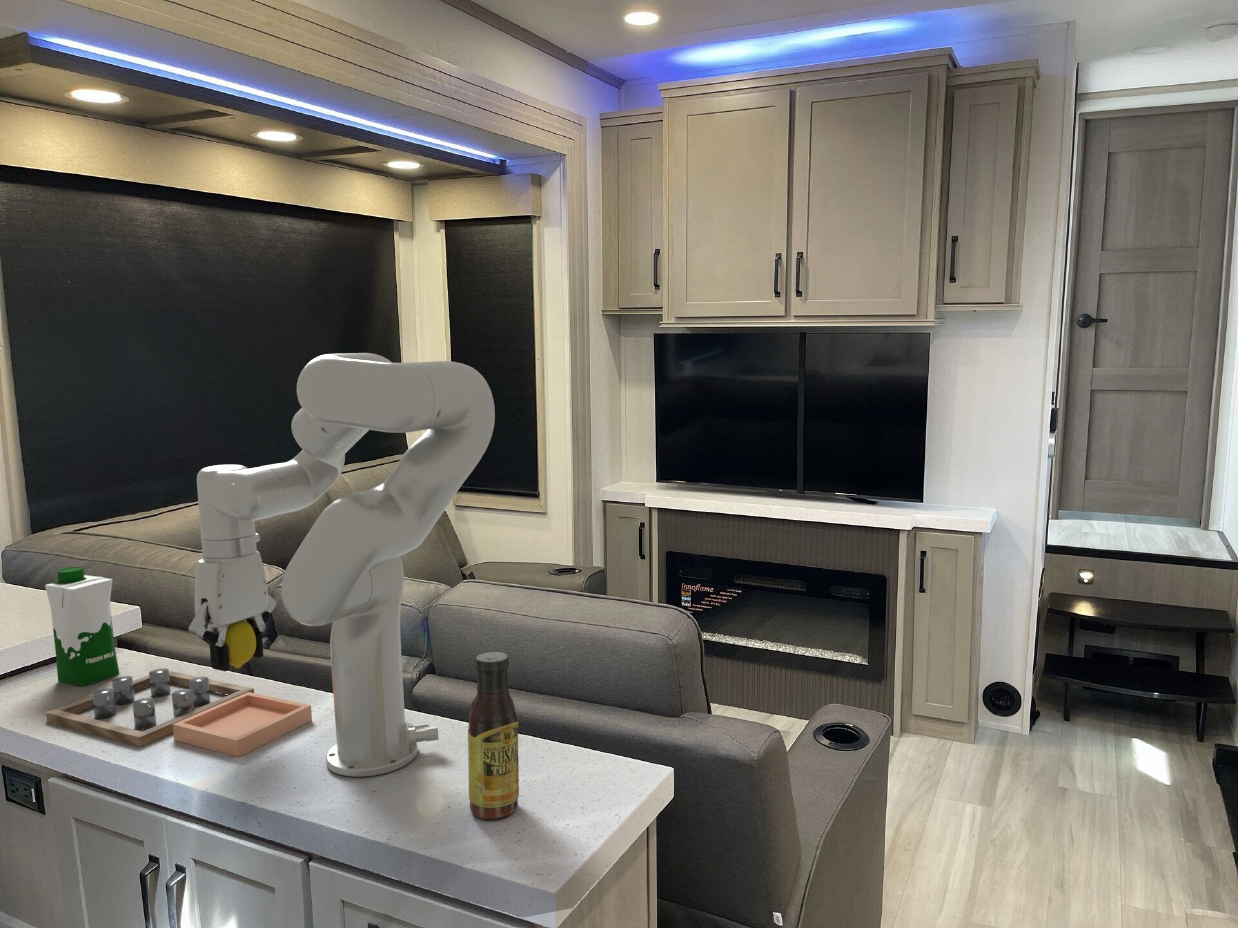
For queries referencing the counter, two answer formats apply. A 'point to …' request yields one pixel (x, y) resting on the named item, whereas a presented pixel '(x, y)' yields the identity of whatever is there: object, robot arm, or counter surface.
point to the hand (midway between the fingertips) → (237, 661)
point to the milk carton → (82, 627)
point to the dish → (242, 723)
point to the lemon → (240, 643)
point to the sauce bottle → (493, 741)
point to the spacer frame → (70, 719)
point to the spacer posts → (145, 706)
